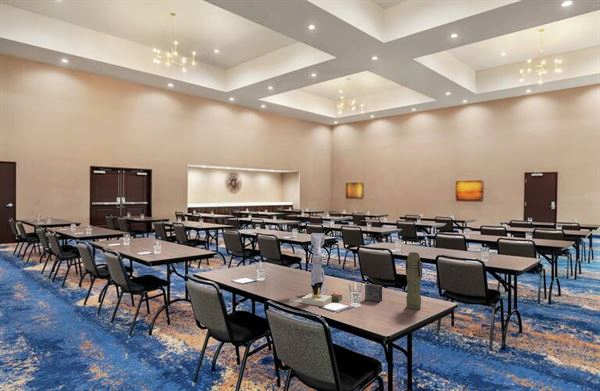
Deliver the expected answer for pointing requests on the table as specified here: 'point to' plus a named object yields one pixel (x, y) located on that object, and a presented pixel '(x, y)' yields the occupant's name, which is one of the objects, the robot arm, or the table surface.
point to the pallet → (317, 300)
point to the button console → (336, 298)
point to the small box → (373, 292)
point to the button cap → (336, 294)
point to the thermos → (413, 280)
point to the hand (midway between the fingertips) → (316, 293)
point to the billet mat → (296, 299)
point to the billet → (317, 293)
